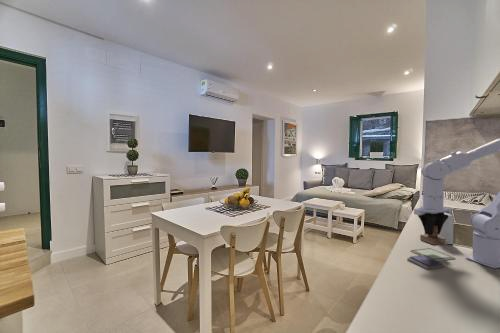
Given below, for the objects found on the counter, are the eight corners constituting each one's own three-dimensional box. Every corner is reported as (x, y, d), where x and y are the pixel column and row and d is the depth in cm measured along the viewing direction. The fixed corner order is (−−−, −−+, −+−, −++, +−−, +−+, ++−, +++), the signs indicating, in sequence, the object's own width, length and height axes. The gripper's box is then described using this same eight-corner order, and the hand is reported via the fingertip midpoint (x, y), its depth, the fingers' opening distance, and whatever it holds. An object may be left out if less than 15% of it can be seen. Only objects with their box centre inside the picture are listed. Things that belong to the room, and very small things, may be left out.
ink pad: (423, 258, 80) (423, 254, 80) (445, 267, 73) (445, 263, 73) (407, 260, 78) (407, 256, 78) (427, 269, 71) (427, 265, 71)
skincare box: (453, 245, 92) (454, 215, 91) (441, 244, 92) (441, 215, 92) (444, 240, 98) (444, 212, 97) (432, 239, 98) (433, 211, 98)
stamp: (431, 240, 85) (431, 223, 85) (445, 244, 80) (445, 227, 80) (420, 241, 84) (420, 224, 84) (433, 246, 79) (434, 227, 79)
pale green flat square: (429, 248, 88) (429, 247, 88) (455, 258, 79) (455, 257, 79) (410, 251, 86) (410, 249, 86) (434, 261, 77) (434, 259, 77)
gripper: (437, 193, 87) (436, 229, 88) (406, 195, 84) (405, 231, 84) (458, 196, 80) (457, 234, 81) (425, 198, 77) (424, 238, 78)
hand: (432, 233), depth 82 cm, fingers closed on stamp, 3 cm apart
